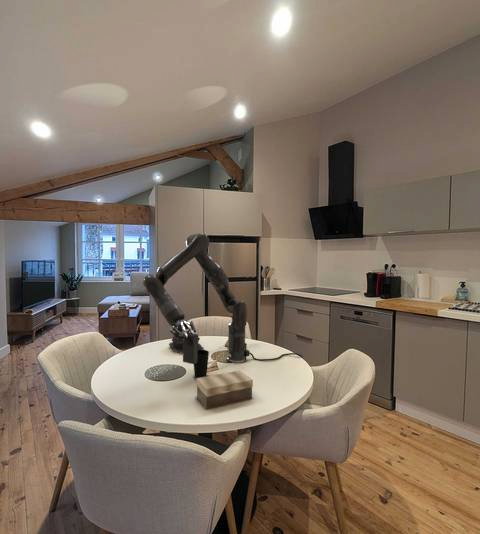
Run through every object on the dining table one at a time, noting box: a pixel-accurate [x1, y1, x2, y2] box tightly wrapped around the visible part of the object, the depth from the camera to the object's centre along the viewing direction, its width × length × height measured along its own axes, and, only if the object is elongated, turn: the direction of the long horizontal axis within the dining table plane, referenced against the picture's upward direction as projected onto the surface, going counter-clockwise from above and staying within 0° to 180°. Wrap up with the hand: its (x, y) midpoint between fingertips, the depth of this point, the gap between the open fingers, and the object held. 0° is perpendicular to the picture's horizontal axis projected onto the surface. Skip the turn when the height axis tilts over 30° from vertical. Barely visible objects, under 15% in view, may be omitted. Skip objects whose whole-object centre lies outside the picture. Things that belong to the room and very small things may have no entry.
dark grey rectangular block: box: [182, 332, 199, 365], centre depth 132 cm, size 3×6×12 cm, turn 61°
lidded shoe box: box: [196, 369, 254, 410], centre depth 126 cm, size 20×11×8 cm, turn 116°
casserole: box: [168, 334, 204, 353], centre depth 189 cm, size 25×19×8 cm
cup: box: [193, 349, 210, 380], centre depth 147 cm, size 8×8×12 cm
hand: (194, 344), depth 131 cm, fingers closed on dark grey rectangular block, 3 cm apart
